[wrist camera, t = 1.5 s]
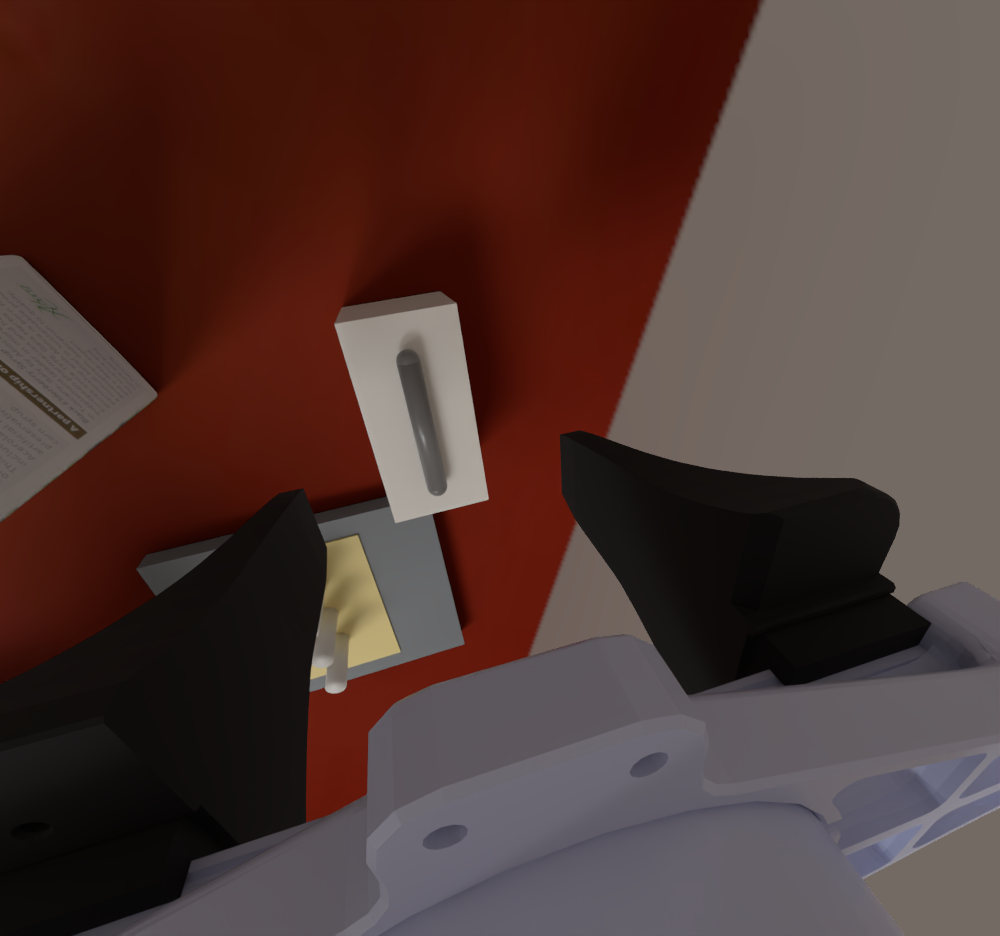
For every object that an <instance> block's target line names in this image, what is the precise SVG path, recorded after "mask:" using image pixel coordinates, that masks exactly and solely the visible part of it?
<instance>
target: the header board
mask: <svg viewBox="0 0 1000 936" xmlns="http://www.w3.org/2000/svg"><path fill="white" fill-rule="evenodd" d="M314 516H315V519H316V521H317V524H318V526H319V529H320V531H321V534H322V536H323V539H324V541H325V544H326V546H327V579H326V586H325V592H324V597H323V603H322V609H321V614H320V619H319V625H318V630H317V636H316V641H315V647H314V652H313V659H312V666H311V676H310V692H311V691H314V690H318V689H321V688H324V687H325V690H326V691H327V692H329V693H339V692H342V691H343V690H344V689H345V688H346V686H347V680H350V679H353V678H356V677H360V676H363V675H366V674H369V673H373V672H376V671H379V670H382V669H386V668H389V667H392V666H395V665H399V664H402V663H405V662H408V661H412V660H415V659H418V658H421V657H424V656H428V655H431V654H434V653H437V652H441V651H444V650H447V649H450V648H454V647H457V646H460V645H463V644H464V640H463V635H462V631H461V627H460V623H459V619H458V615H457V611H456V607H455V603H454V599H453V595H452V591H451V587H450V583H449V579H448V575H447V571H446V567H445V563H444V559H443V555H442V551H441V547H440V543H439V538H438V534H437V530H436V526H435V522H434V518H433V514H430V515H426V516H422V517H418V518H414V519H410V520H406V521H402V522H398V523H395V520H394V517H393V514H392V511H391V507H390V504H389V501H388V498H387V497H383V498H379V499H375V500H371V501H366V502H362V503H358V504H354V505H350V506H346V507H342V508H338V509H333V510H329V511H325V512H321V513H317V514H314ZM232 535H233V534H230V535H226V536H222V537H218V538H213V539H209V540H205V541H201V542H197V543H193V544H189V545H185V546H180V547H176V548H172V549H168V550H164V551H160V552H156V553H151V554H147V555H146V556H145V557H144V559H143V560H142V561H141V563H140V564H139V566H138V567H137V568H136V570H137V571H138V572H139V574H140V575H141V576H142V578H143V579H144V581H145V582H146V583H147V585H148V586H149V587H150V589H151V590H152V591H153V593H154V594H155V596H157V595H158V594H160V593H161V592H162V591H164V590H165V589H166V588H168V587H169V586H171V585H172V584H173V583H175V582H176V581H178V580H179V579H180V578H182V577H183V576H184V575H186V574H187V573H188V572H190V571H191V570H192V569H193V568H195V567H196V566H197V565H198V564H200V563H201V562H202V561H203V560H204V559H205V558H207V557H208V556H209V555H210V554H211V553H212V552H214V551H215V550H216V549H217V548H218V547H220V546H221V545H222V544H223V543H224V542H225V541H227V540H228V539H229V538H230V537H231V536H232Z"/></svg>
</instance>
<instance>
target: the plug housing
mask: <svg viewBox="0 0 1000 936" xmlns="http://www.w3.org/2000/svg"><path fill="white" fill-rule="evenodd" d="M335 328H336V331H337V334H338V337H339V341H340V344H341V347H342V351H343V354H344V357H345V360H346V364H347V367H348V370H349V373H350V377H351V380H352V383H353V386H354V390H355V393H356V396H357V400H358V403H359V406H360V409H361V413H362V416H363V419H364V422H365V426H366V429H367V432H368V435H369V439H370V442H371V445H372V449H373V452H374V455H375V458H376V462H377V465H378V468H379V471H380V475H381V478H382V481H383V484H384V488H385V491H386V494H387V498H388V501H389V504H390V507H391V511H392V514H393V517H394V520H395V523H398V522H402V521H406V520H410V519H414V518H418V517H422V516H426V515H430V514H434V513H438V512H442V511H446V510H450V509H454V508H458V507H462V506H466V505H469V504H473V503H477V502H481V501H485V500H489V499H488V492H487V486H486V480H485V474H484V468H483V462H482V456H481V450H480V444H479V437H478V431H477V425H476V419H475V413H474V407H473V401H472V395H471V389H470V382H469V376H468V370H467V364H466V358H465V352H464V346H463V340H462V334H461V327H460V321H459V315H458V309H457V303H456V302H454V301H453V300H452V299H450V298H449V297H447V296H446V295H445V294H443V293H442V292H441V291H438V292H432V293H426V294H420V295H414V296H408V297H402V298H396V299H390V300H384V301H378V302H372V303H366V304H360V305H353V306H347V307H342V308H341V310H340V313H339V315H338V317H337V319H336V322H335Z"/></svg>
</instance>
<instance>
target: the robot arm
mask: <svg viewBox="0 0 1000 936" xmlns="http://www.w3.org/2000/svg"><path fill="white" fill-rule="evenodd" d="M560 449H561V476H562V494H563V496H564V498H565V500H566V502H567V504H568V506H569V508H570V510H571V512H572V514H573V516H574V518H575V519H576V521H577V522H578V524H579V525H580V527H581V528H582V530H583V531H584V532H585V534H586V535H587V537H588V538H589V539H590V541H591V542H592V544H593V545H594V546H595V548H596V549H597V551H598V552H599V553H600V555H601V556H602V557H603V559H604V560H605V562H606V563H607V564H608V566H609V567H610V569H611V570H612V571H613V573H614V574H615V576H616V577H617V579H618V580H619V582H620V583H621V585H622V587H623V588H624V590H625V592H626V594H627V596H628V597H629V599H630V601H631V602H632V604H633V606H634V608H635V610H636V612H637V614H638V615H639V617H640V619H641V621H642V623H643V625H644V627H645V629H646V631H647V633H648V634H649V636H650V638H651V640H652V642H653V644H654V645H652V644H649V643H647V642H645V641H643V640H641V639H639V638H636V637H634V636H632V635H624V634H623V635H614V636H604V637H595V638H590V639H587V640H583V641H580V642H577V643H573V644H570V645H567V646H563V647H560V648H556V649H553V650H550V651H546V652H543V653H539V654H536V655H533V656H529V657H526V658H522V659H519V660H516V661H512V662H509V663H505V664H502V665H499V666H495V667H492V668H488V669H485V670H482V671H478V672H475V673H472V674H468V675H465V676H461V677H458V678H455V679H451V680H448V681H444V682H441V683H438V684H434V685H431V686H429V687H427V688H425V689H422V690H420V691H418V692H416V693H414V694H412V695H410V696H408V697H406V698H404V699H402V700H400V701H398V702H396V703H395V704H394V705H393V706H392V707H391V708H390V709H389V710H388V711H387V712H386V713H385V714H384V716H383V717H382V718H381V719H380V720H379V721H378V722H377V723H376V725H375V726H374V727H373V728H372V729H371V730H370V731H369V739H368V789H367V795H365V796H363V797H362V798H360V799H358V800H356V801H354V802H353V803H351V804H349V805H347V806H345V807H343V808H342V809H340V810H338V811H336V812H334V813H333V814H331V815H328V816H325V817H322V818H319V819H316V820H313V821H310V822H307V823H306V758H307V730H308V707H309V692H310V676H311V666H312V659H313V652H314V647H315V641H316V636H317V630H318V625H319V619H320V614H321V609H322V603H323V597H324V592H325V586H326V579H327V546H326V544H325V541H324V539H323V536H322V534H321V531H320V529H319V526H318V524H317V521H316V519H315V516H314V514H313V511H312V509H311V507H310V504H309V502H308V499H307V497H306V494H305V492H304V489H298V490H294V491H289V492H284V493H279V494H278V495H276V496H275V497H274V498H273V499H271V500H270V501H269V502H268V503H267V504H266V505H265V506H263V507H262V508H261V509H260V510H259V511H258V512H257V513H256V514H255V515H254V516H253V517H252V518H251V519H249V520H248V521H247V522H246V523H245V524H244V525H243V526H242V527H241V528H240V529H239V530H238V531H237V532H235V533H234V534H233V535H232V536H231V537H230V538H229V539H228V540H227V541H225V542H224V543H223V544H222V545H221V546H220V547H218V548H217V549H216V550H215V551H214V552H212V553H211V554H210V555H209V556H208V557H207V558H205V559H204V560H203V561H202V562H201V563H200V564H198V565H197V566H196V567H195V568H193V569H192V570H191V571H190V572H188V573H187V574H186V575H184V576H183V577H182V578H180V579H179V580H178V581H176V582H175V583H173V584H172V585H171V586H169V587H168V588H166V589H165V590H164V591H162V592H161V593H160V594H158V595H157V596H155V597H154V598H152V599H151V600H149V601H148V602H146V603H145V604H143V605H141V606H140V607H138V608H137V609H135V610H133V611H132V612H130V613H129V614H127V615H126V616H124V617H122V618H121V619H119V620H118V621H116V622H114V623H113V624H111V625H110V626H108V627H107V628H105V629H103V630H102V631H100V632H98V633H96V634H95V635H93V636H91V637H89V638H88V639H86V640H84V641H82V642H81V643H79V644H77V645H75V646H74V647H72V648H70V649H68V650H66V651H64V652H62V653H61V654H59V655H57V656H55V657H53V658H51V659H49V660H48V661H46V662H44V663H42V664H40V665H38V666H36V667H34V668H32V669H30V670H28V671H26V672H24V673H23V674H20V675H18V676H16V677H14V678H12V679H10V680H8V681H6V682H4V683H2V684H0V936H905V935H904V933H903V932H902V931H901V929H900V928H899V927H898V925H897V924H896V923H895V921H894V920H893V919H892V917H891V916H890V915H889V914H888V912H887V911H886V909H885V908H884V907H883V905H882V904H881V903H880V902H879V900H878V899H877V897H876V896H875V895H874V894H873V892H872V891H871V889H870V888H869V887H868V886H867V884H866V883H865V881H864V880H863V879H864V878H866V877H868V876H870V875H872V874H874V873H876V872H877V871H879V870H881V869H883V868H885V867H887V866H889V865H890V864H893V863H894V862H896V861H898V860H900V859H902V858H904V857H906V856H907V855H910V854H911V853H913V852H915V851H917V850H919V849H921V848H923V847H925V846H926V845H928V844H930V843H932V842H934V841H936V840H938V839H940V838H942V837H943V836H945V835H947V834H949V833H951V832H953V831H955V830H957V829H959V828H961V827H963V826H965V825H967V824H969V823H971V822H973V821H975V820H976V819H978V818H980V817H982V816H984V815H986V814H988V813H990V812H992V811H995V810H997V809H999V808H1000V601H999V600H997V599H996V598H994V597H992V596H990V595H989V594H987V593H985V592H984V591H982V590H980V589H979V588H977V587H975V586H974V585H972V584H970V583H968V582H959V583H956V584H953V585H950V586H947V587H944V588H940V589H937V590H934V591H931V592H928V593H925V594H922V595H920V596H918V597H916V598H915V599H913V600H912V601H911V602H910V603H909V604H908V605H907V606H906V605H905V604H903V603H902V602H900V601H899V600H898V599H896V598H895V597H894V596H892V595H891V594H890V593H893V592H894V590H895V588H896V587H895V585H894V583H893V582H891V581H890V580H888V579H887V578H886V577H884V576H883V575H881V574H880V573H879V571H880V569H881V566H882V564H883V562H884V560H885V558H886V556H887V554H888V552H889V549H890V547H891V545H892V543H893V541H894V539H895V536H896V533H897V530H898V527H899V518H900V513H899V508H898V506H897V503H896V501H895V500H894V499H893V498H892V497H890V496H889V495H888V494H886V493H884V492H882V491H880V490H878V489H876V488H874V487H872V486H870V485H868V484H866V483H865V482H862V481H860V480H858V479H855V478H793V477H777V476H763V475H752V474H743V473H735V472H729V471H721V470H715V469H709V468H704V467H699V466H695V465H690V464H685V463H680V462H677V461H673V460H669V459H665V458H662V457H659V456H655V455H652V454H649V453H645V452H642V451H639V450H636V449H633V448H630V447H628V446H625V445H622V444H619V443H616V442H614V441H611V440H608V439H606V438H603V437H600V436H597V435H594V434H591V433H588V432H584V431H575V432H570V433H566V434H561V435H560ZM654 646H655V647H654Z"/></svg>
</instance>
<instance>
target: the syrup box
mask: <svg viewBox="0 0 1000 936" xmlns="http://www.w3.org/2000/svg"><path fill="white" fill-rule="evenodd" d="M156 398H157V392H156V391H155V390H154V389H153V388H152V387H151V386H150V385H149V383H148V382H147V381H146V380H145V379H144V378H143V377H142V376H141V375H140V374H139V373H138V372H137V371H136V370H135V369H134V368H133V367H132V366H131V365H130V364H129V363H128V361H127V360H126V359H125V358H124V357H123V356H122V355H121V354H120V353H119V352H118V351H117V350H116V349H115V348H114V347H113V346H112V345H111V344H110V343H109V342H108V341H107V340H106V339H105V338H104V337H103V336H102V335H101V334H100V333H99V332H98V331H97V330H96V329H95V328H93V327H92V326H91V325H90V324H89V323H88V322H87V321H86V320H85V319H84V318H83V317H82V316H81V315H80V314H79V313H78V312H77V311H76V310H75V309H74V308H73V307H72V306H71V305H70V304H69V303H68V302H67V301H66V300H65V299H64V298H63V297H62V296H61V295H60V294H59V293H58V292H57V291H56V290H55V289H54V288H53V287H52V286H51V285H50V284H49V283H48V282H47V281H46V280H45V279H44V278H43V277H42V276H41V275H40V274H39V273H38V272H37V271H36V270H35V269H34V268H33V267H32V266H31V265H30V264H29V263H28V262H27V261H26V260H25V259H24V258H22V257H21V256H17V255H5V256H0V522H1V521H3V520H4V519H5V518H6V517H8V516H9V515H10V514H12V513H13V512H14V511H15V510H17V509H18V508H19V507H20V506H21V505H23V504H24V503H25V502H27V501H28V500H29V499H31V498H32V497H33V496H34V495H35V494H37V493H38V492H39V491H41V490H42V489H43V488H45V487H46V486H47V485H48V484H49V483H51V482H52V481H53V480H54V479H56V478H57V477H58V476H59V475H61V474H62V473H63V472H64V471H66V470H67V469H68V468H69V467H71V466H72V465H73V464H74V463H76V462H77V461H78V460H80V459H81V458H82V457H83V456H85V455H86V454H87V453H88V452H89V451H91V450H92V449H93V448H94V447H96V446H97V445H98V444H100V443H101V442H102V441H103V440H104V439H106V438H107V437H108V436H110V435H111V434H112V433H114V432H115V431H116V430H117V429H119V428H120V427H121V426H123V425H124V424H125V423H126V422H128V421H129V420H130V419H131V418H133V417H134V416H135V415H136V414H138V413H139V412H140V411H141V410H143V409H144V408H145V407H146V406H147V405H149V404H150V403H151V402H152V401H154V400H155V399H156Z"/></svg>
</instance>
